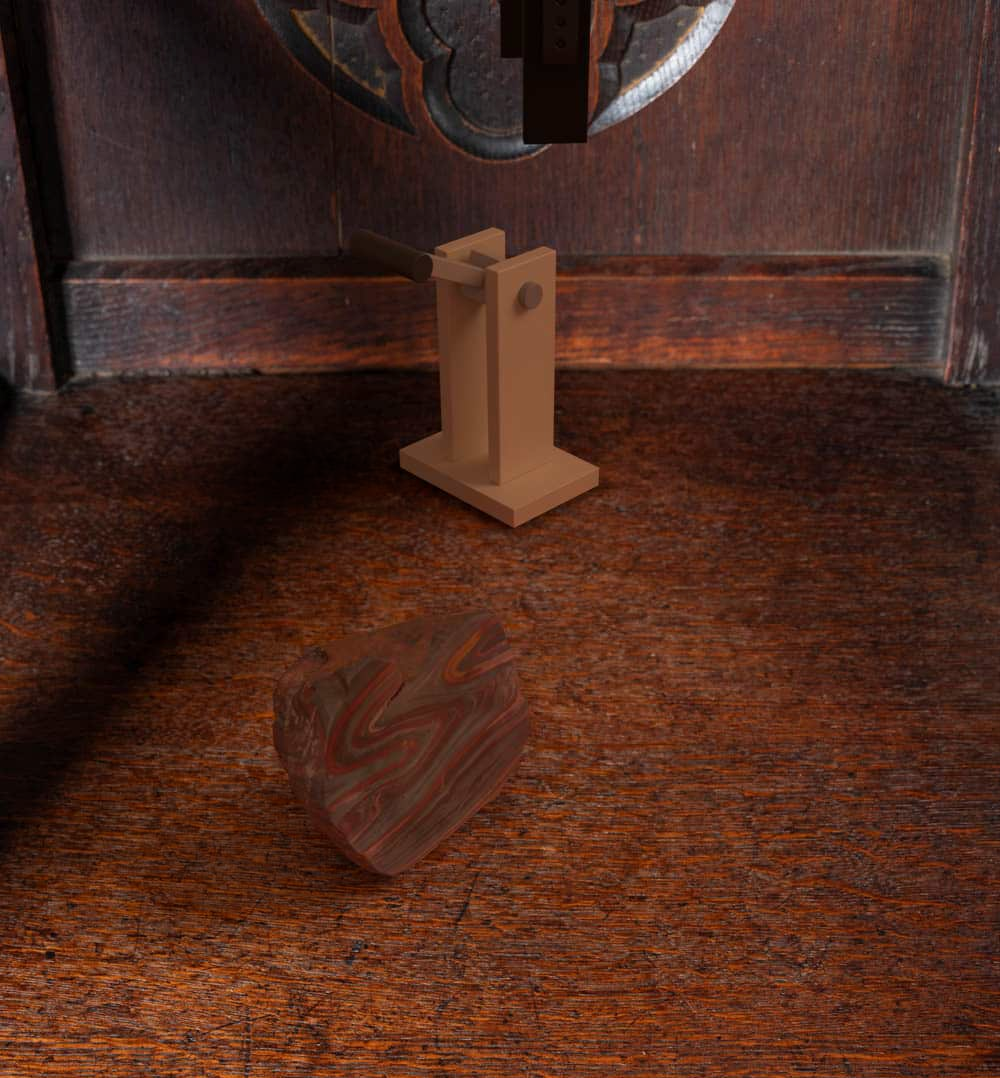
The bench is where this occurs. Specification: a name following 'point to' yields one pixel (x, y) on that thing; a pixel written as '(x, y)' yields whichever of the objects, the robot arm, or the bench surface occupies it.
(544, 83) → the robot arm
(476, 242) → the bracket
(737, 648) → the bench surface
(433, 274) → the lever
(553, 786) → the bench surface
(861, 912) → the bench surface
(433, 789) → the stone
